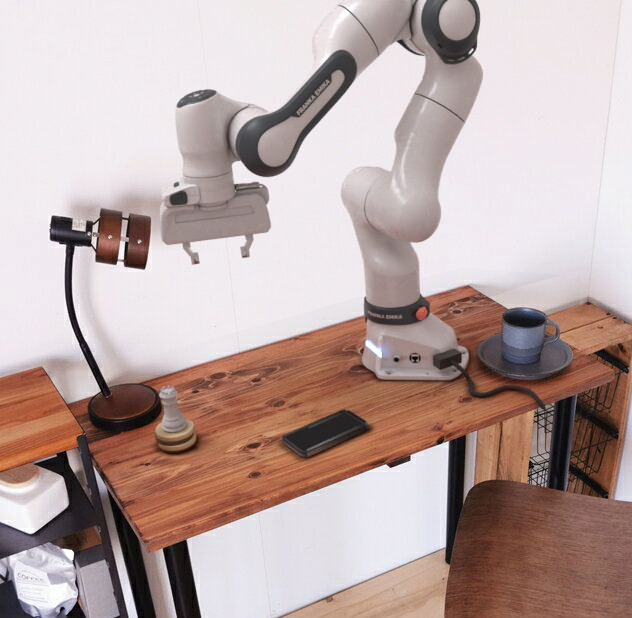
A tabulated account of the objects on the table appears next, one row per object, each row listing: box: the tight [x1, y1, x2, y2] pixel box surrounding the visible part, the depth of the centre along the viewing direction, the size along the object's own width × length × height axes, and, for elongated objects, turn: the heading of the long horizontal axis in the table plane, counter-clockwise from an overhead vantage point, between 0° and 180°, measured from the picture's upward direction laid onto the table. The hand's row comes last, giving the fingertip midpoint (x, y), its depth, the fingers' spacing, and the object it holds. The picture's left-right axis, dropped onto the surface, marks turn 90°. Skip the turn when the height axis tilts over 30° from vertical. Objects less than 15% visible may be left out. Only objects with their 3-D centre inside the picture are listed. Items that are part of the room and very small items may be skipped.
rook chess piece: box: [158, 385, 187, 433], centre depth 164 cm, size 4×4×8 cm
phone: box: [282, 408, 369, 458], centre depth 168 cm, size 8×1×15 cm
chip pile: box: [154, 417, 197, 454], centre depth 168 cm, size 8×8×4 cm
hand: (220, 260), depth 171 cm, fingers open, 8 cm apart
